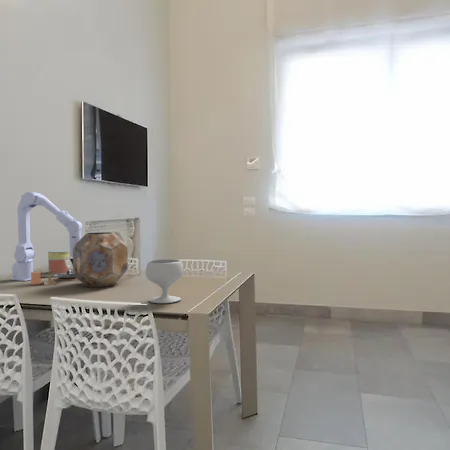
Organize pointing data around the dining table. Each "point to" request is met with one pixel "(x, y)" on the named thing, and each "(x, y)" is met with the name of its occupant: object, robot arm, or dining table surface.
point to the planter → (100, 259)
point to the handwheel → (68, 274)
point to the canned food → (59, 261)
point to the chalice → (164, 277)
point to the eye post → (49, 279)
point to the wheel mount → (65, 279)
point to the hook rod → (40, 277)
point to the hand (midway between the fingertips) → (76, 272)
